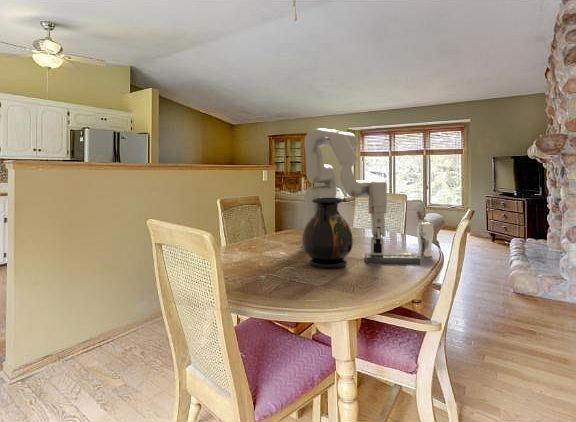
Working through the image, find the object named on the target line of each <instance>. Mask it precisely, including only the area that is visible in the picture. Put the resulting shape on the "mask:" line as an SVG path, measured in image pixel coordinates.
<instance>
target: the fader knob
mask: <svg viewBox="0 0 576 422" xmlns="http://www.w3.org/2000/svg"><path fill="white" fill-rule="evenodd" d="M384 240H385V239H384V237H383V236H381V244H382V252H381V253H374V244H375V238H374V237H373V236H371V237H370V253H371V255H384V253H385V251H384V249H385V248H384V247H385V246H384V242H385V241H384Z"/></svg>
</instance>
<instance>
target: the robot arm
mask: <svg viewBox="0 0 576 422" xmlns="http://www.w3.org/2000/svg"><path fill="white" fill-rule="evenodd" d="M358 142H359V141H358V139H357V136H356V135H355V134H354V133H352V132H346V131H343V130H341V131H340V130H337V129H333V128H332V129H328V128H313V129H310V130H309V131H308V132H307V133H306V135H305V138H304V150H305V157H306V158H305V159H306V160H305V161H306V163H305V164H306V177H307V178H306V179H307V181H308V182H309V183H311V184H321V185H313V186H310V187H308V188H307V189H305V192H304V202H305V205H306V206H305V207H306V223H307V222H308V221H309V220H310V219H311V218H312V217H313V215H314V214H315V213H316V210H317V207H316V204H315V203H313V202H312V199H314V198H337V174H336V171H335V169H334V167H333V166H332V165H330V164H324V155H323V152H322V150H321V148H320V147H331V150H332V151H333V154H334V155H335V157H336V160H337V161H338V163H339V164H340V170H339V178H340V179H339V180H340V182H341V184H342V187H343V189H344V191H345V192H346V194H347V195H348V196H349V197H351V198H354V199H357V198H368V214H370V220H371V221H370V222H371V223H370V225H371V228H370V229H371V234H372V237H374V238H375V244H374V253H381V252H382V244H381V237H383V238H385V237H386V226H385V225H386V224H385V223H386V221H385V220H386V219H385V214H387V211H388V210H387V208H388V207H387V204H388V202H387V201H388V198H387V197H388V183H387V182H386V181H384V180H372V179H371V180H370V179H364V180H363V179H360V180H359V179H356V176H355V175H354V173H353V168H352V167H353V166H355V165H356V164H357V162H358V161H359V157H358V155H357V153H356V151H355V149H356V148H357V147H358Z"/></svg>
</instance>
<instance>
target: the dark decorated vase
mask: <svg viewBox="0 0 576 422" xmlns="http://www.w3.org/2000/svg"><path fill="white" fill-rule="evenodd" d="M312 202H313V203H315V204H316V207H317V210H316V213H315V214H314V215H313V217H312V218H311V219H310V220H309V221H308V222H307V221H306V224H305V226H304V229H303V231H302V235H301V245H302V248H303V251H304V252H305V254H306V255H307V256H308V257H310V258H308V261H307V263H308V265H309V266H311V267H313V268H316V269H320V270H321V269H323V270H335V269H339V268H343V267H346V265H347V263H348V259H346V257H348V255H349V254H350V253H351V251H352V250H353V246H354V236H353V231H352V228H351V227H350V224H349V223H348V221H347V220H346V219H345V218H344V217H343V216H342V214H341V213H340V212H339V210H338V208H339V204H342V203H343V199H342V198H341V197H336V198H314V199H312Z"/></svg>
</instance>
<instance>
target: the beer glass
mask: <svg viewBox="0 0 576 422" xmlns="http://www.w3.org/2000/svg"><path fill="white" fill-rule="evenodd" d="M434 234H435V233H434V222H430V221H429V222H428V221H419V222H417V229H416V235H417V243H418V251H417V255H418V256H419V257H420V258H422V257H423V258H431V257H432V256H433V254H432V244H433V240H434Z"/></svg>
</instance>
